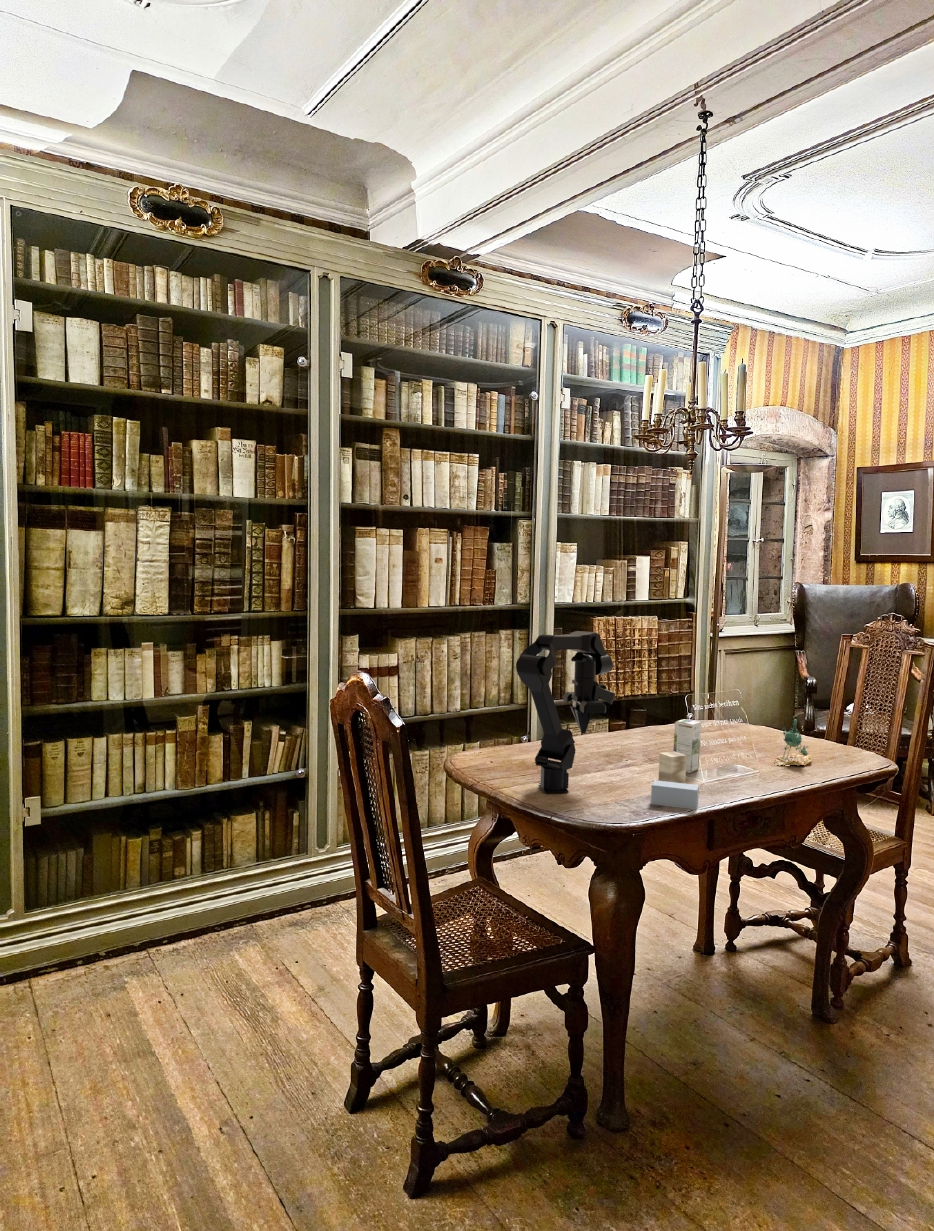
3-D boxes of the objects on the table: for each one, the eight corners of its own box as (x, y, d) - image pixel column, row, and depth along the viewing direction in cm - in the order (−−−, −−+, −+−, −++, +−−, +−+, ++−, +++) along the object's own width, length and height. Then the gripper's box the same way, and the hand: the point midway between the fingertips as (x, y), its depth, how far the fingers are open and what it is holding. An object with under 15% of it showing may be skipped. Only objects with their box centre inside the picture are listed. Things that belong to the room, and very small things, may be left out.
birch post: (670, 790, 216) (671, 757, 215) (658, 785, 220) (659, 752, 219) (685, 788, 218) (686, 755, 217) (672, 783, 222) (673, 751, 222)
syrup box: (680, 766, 241) (682, 718, 240) (699, 770, 237) (701, 721, 236) (672, 770, 237) (674, 721, 236) (691, 773, 233) (693, 723, 232)
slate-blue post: (651, 785, 203) (697, 790, 199) (654, 780, 208) (698, 785, 204) (650, 804, 203) (696, 810, 199) (653, 799, 208) (698, 804, 204)
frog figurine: (828, 764, 248) (827, 717, 246) (785, 776, 240) (784, 728, 238) (802, 756, 256) (802, 711, 255) (761, 768, 249) (759, 721, 247)
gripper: (625, 681, 215) (623, 740, 216) (600, 672, 233) (599, 725, 234) (585, 682, 213) (583, 741, 214) (563, 672, 231) (562, 726, 232)
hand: (583, 733), depth 224 cm, fingers closed
